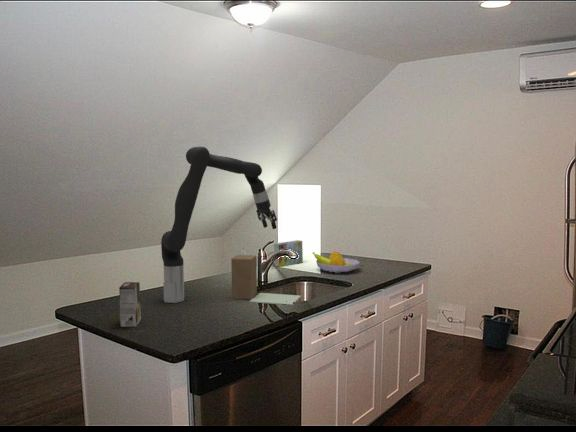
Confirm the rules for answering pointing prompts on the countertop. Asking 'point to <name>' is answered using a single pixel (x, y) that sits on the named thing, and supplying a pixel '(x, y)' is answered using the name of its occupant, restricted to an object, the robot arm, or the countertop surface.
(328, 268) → the fruit bowl
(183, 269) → the robot arm
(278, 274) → the countertop surface
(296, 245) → the snack box
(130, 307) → the coffee box
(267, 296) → the felt mat
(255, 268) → the wooden block
